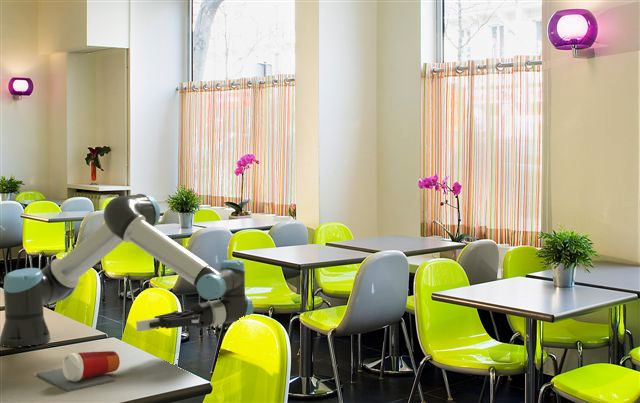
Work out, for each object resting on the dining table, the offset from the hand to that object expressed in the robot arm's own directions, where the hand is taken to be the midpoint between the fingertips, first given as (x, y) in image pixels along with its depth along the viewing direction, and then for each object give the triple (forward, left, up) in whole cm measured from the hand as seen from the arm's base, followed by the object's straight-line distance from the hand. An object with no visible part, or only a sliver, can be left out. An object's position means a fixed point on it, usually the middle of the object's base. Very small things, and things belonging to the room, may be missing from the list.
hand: (137, 326), depth 221 cm
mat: (0, -19, -11) cm, 22 cm away
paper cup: (+3, -9, -8) cm, 12 cm away
